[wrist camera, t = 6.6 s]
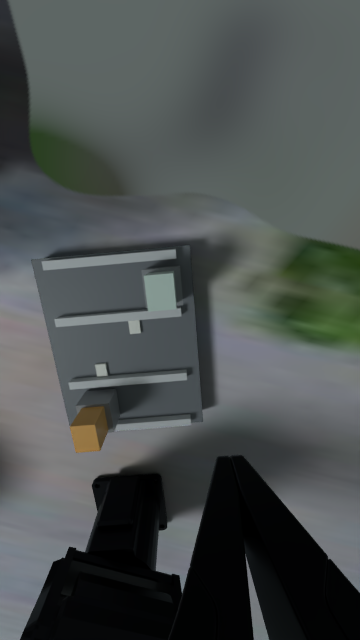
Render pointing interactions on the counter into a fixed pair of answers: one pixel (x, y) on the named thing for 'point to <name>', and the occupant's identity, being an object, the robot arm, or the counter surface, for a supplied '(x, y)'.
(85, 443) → the fader
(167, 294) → the fader
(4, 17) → the counter surface
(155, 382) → the console
